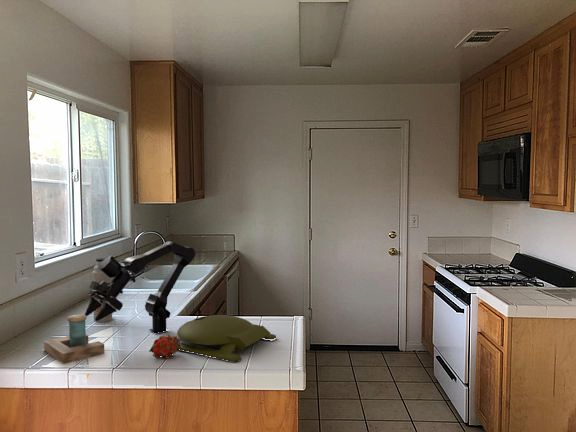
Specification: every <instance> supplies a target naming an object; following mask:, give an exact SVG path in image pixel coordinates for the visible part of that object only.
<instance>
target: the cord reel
mask: <svg viewBox="0 0 576 432" xmlns="http://www.w3.org/2000/svg"><path fill="white" fill-rule="evenodd" d="M86 320H87V316H86V315H85V314H73V315H69V316H68V317H67V322H68V332H69V333H68V336H69V340H70V348H71V347H76V346H80V345H84V344H86V334H87V333H86V330H87V329H86Z"/></svg>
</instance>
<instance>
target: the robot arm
mask: <svg viewBox="0 0 576 432" xmlns="http://www.w3.org/2000/svg"><path fill="white" fill-rule="evenodd" d="M170 253H172V254H174V256H173V257H174V258H173V262H172V265H171V267H170V269H169V271H168V272H167V274H166V276H165V277H164V279H163V281H162V283H161V284H160V286H159V288H158V289H157V291H156V292H155V293H154V294H153V293H150V294H149V296H147V297H148V298H147V299H146V300H145V304H144V309H145V311H146V312H147V314H148V316H149V317H152V320H151V322H152V327H151V328H150V329H149V331H150V330H151V331H152V332H151V331H150V332H151V333H153V332H154V333H158V332H163V331H166V328H167V319H168V318H170V317H171V313H172V312H171V311H169V310H168V309H167V305H168V297H169V295H170V293H171V292H172V290H173V288H174V286H175V284H176V283H177V281H178V279H179V278H180V275H181V273H182V272H183V270H184V269H185V268H186V267H187V266H188V265H190V264H191V262H192V261H193V260H194V259H195V257H196V251H195V249H194V248H193V247H192V246H186V245H181V244H178V243H176V242H174V241H170V240H169V241H166V242H164V243H163V244H161V245H159V246H157V247H154V248H152V249H151V250H149V251H146V252H145V253H142V254H137V255H132V256H130V257H129V256H128V257H127V258H125V259H124V260H123V261H117V259H116V258H115V257H114V256H113V255H109V256H108V257H106V259H104V260H103V261H101V263H100V264H99V266H98V269H99V270H100V271H102V272H103V273H104V274H105V275H106V276H108V277H109V278H111V281H110V282H104V281H101V282H100V283H99V282H96V281H93V279H92V280H91V283H90V284H89V289H90V291H89V292H88V299H89V303H88V306H87V308H86V310H85V313H84V315H86V317H88V316H90V315H91V314H93V313H94V311H95V310H96V309H98V308H99V307H100V306H102V304H101V303H103V307H102V309H101V310H100V312H99V313H98V315H97V316H96V318H95V320H96V321H95V322H97V321H98V320H100V319H102V318H104V317H106V316H108V315H110V314H112V315H113V313H115V312H118V311H119V312H120V311H121V310H122V309H123V303H122V301H120V300H119V299H118V298H117V297H118V296H119V295H120V294H121V295H122V294H124V291H123V290H124V289H125V288H126V286H127V285H128V284H129V283H130V282H132V283H136V281H137V280H136V275H135V274H138V273H141V271H143V270H144V269H146V268H147V266H148V265H150V264H151V263H152V262H154V261H156V260H158V259H160V258H161V257H164V256H166V255H168V254H170ZM123 270H125V271H123ZM131 273H133V274H131ZM154 333H153V334H154ZM163 333H164V332H163ZM158 334H159V333H158Z"/></svg>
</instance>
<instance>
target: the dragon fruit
mask: <svg viewBox="0 0 576 432" xmlns="http://www.w3.org/2000/svg"><path fill="white" fill-rule="evenodd" d="M180 343H182V342H181V339H180V338H178V336H176V335H175V336H174V335H173V336H172V335H170V334H166V336H163V335H161V336H159V338H157V339H155V340H154V342H153V344H152V346H151V347H150V349H149V351H148V352H149V353H153V354H152V357H154V358H159V357H160V356H164V357H165V358H166V359H169V358H170V357H173V356H172V354H173V355H174V354H176V353H178V352H181V351H180V350H179V348H180Z"/></svg>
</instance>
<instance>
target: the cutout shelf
mask: <svg viewBox="0 0 576 432" xmlns="http://www.w3.org/2000/svg"><path fill="white" fill-rule="evenodd" d="M43 350H44V351H45V352H46V353H48V354H49V355H50V356H52V357H53V358H54V359H56V360H57V361H58V362H60V363H61V364H68V363H72V361H73V362H76V361H80V360H84V359H87V358H88V359H89V358H92V357H96V356H99V355H103V354H105V344H104V343H103V342H101V341H99V340H98V341H93V342H89V335H88V334H87V333H86V344H84V345H80V346H76V347H71V348H70V340H69V335H66V336H61V337H57V338H53V339H48V340H43Z"/></svg>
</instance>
